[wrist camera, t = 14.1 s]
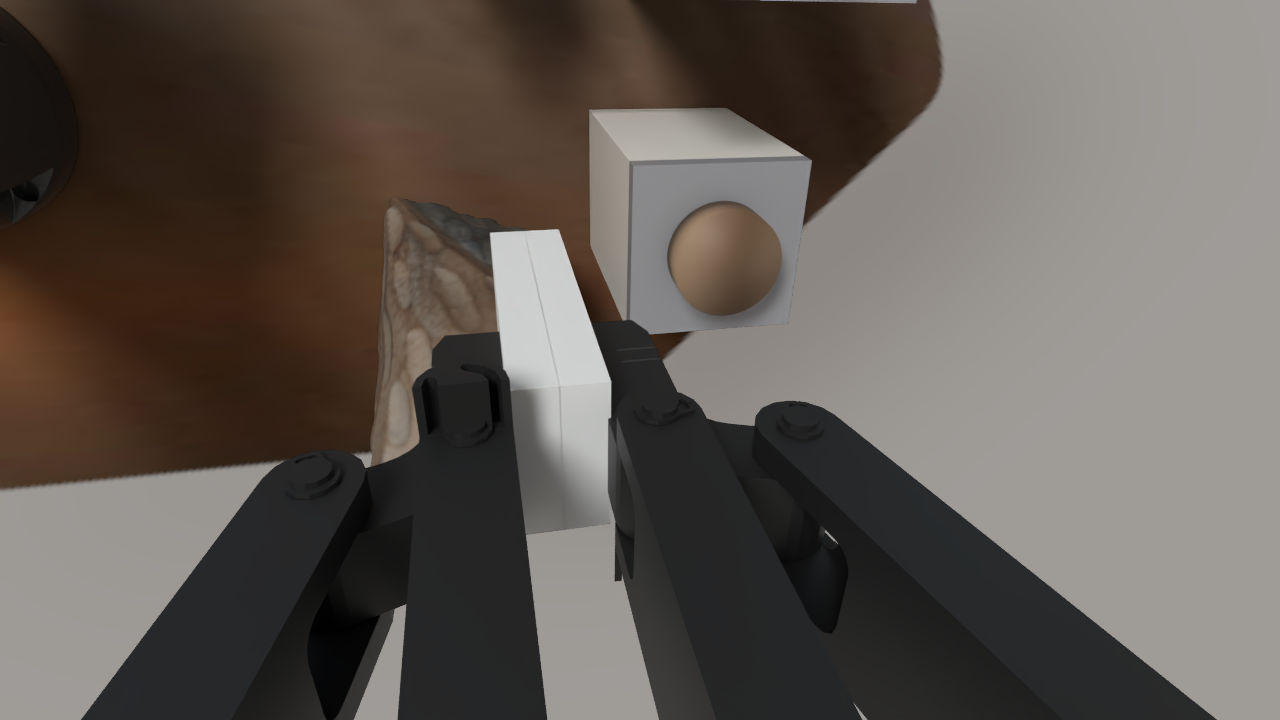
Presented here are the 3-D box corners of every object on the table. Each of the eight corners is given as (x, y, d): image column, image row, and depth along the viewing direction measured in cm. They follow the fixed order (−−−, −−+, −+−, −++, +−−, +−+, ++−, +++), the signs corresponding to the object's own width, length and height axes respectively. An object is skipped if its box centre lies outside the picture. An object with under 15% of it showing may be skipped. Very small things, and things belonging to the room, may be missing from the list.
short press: (590, 245, 55) (629, 335, 42) (589, 109, 50) (633, 165, 37) (715, 239, 57) (788, 323, 44) (725, 107, 52) (812, 160, 39)
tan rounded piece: (611, 233, 53) (662, 329, 40) (612, 134, 50) (668, 203, 36) (704, 228, 55) (783, 320, 41) (711, 132, 51) (800, 198, 38)
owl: (564, 231, 54) (613, 362, 37) (524, 373, 59) (549, 545, 42) (390, 188, 50) (354, 314, 33) (362, 345, 55) (319, 523, 38)
